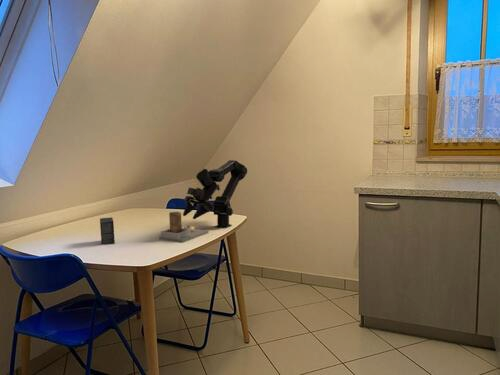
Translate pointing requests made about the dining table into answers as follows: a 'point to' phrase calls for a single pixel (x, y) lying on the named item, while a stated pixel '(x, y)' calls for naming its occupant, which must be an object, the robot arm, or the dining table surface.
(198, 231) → the housing
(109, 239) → the box
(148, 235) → the dining table surface
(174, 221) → the wooden block
